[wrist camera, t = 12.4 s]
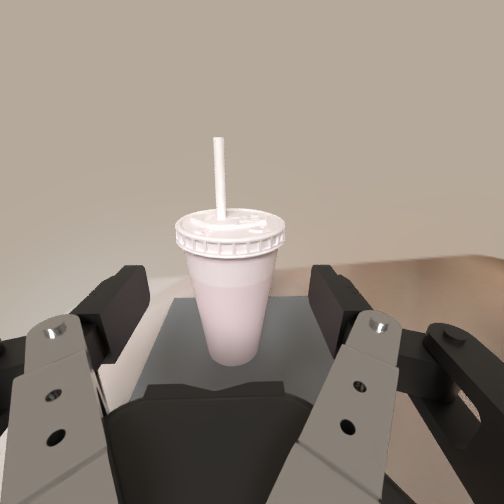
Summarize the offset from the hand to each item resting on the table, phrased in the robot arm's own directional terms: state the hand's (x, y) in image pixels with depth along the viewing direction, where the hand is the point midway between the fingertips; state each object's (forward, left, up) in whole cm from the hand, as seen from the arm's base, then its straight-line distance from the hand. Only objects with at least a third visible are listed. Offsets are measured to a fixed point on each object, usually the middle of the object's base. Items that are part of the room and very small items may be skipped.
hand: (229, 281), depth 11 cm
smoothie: (0, -3, -8) cm, 9 cm away
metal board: (-1, -4, -9) cm, 9 cm away
